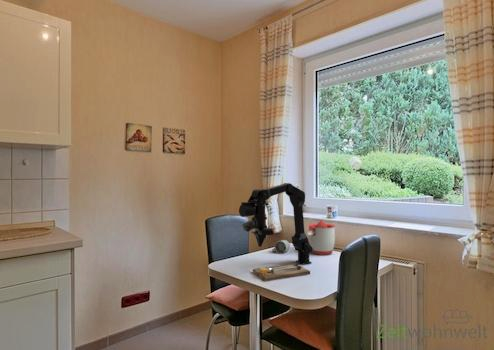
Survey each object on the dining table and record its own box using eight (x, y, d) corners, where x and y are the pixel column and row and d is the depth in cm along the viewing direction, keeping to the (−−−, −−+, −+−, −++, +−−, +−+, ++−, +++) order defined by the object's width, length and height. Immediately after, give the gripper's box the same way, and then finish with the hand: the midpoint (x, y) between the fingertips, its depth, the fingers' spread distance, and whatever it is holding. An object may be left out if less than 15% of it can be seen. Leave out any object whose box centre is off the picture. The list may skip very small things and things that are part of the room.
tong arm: (265, 271, 147) (265, 267, 147) (296, 267, 154) (296, 263, 154) (267, 273, 145) (267, 269, 145) (298, 268, 152) (298, 264, 152)
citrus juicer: (301, 251, 191) (301, 219, 191) (323, 248, 199) (323, 217, 199) (317, 257, 177) (317, 223, 177) (340, 254, 184) (340, 221, 184)
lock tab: (260, 272, 146) (260, 268, 146) (264, 271, 147) (264, 267, 147) (262, 274, 143) (262, 270, 143) (267, 273, 144) (267, 269, 144)
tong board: (252, 272, 152) (252, 265, 152) (294, 266, 161) (294, 260, 161) (265, 281, 139) (265, 274, 139) (310, 274, 148) (310, 267, 148)
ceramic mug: (290, 251, 192) (290, 239, 192) (286, 254, 185) (286, 241, 185) (275, 249, 197) (274, 237, 197) (270, 252, 190) (269, 240, 190)
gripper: (237, 213, 157) (237, 244, 157) (252, 218, 139) (252, 252, 139) (257, 212, 161) (257, 242, 161) (273, 216, 144) (274, 250, 144)
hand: (259, 246), depth 151 cm, fingers closed
